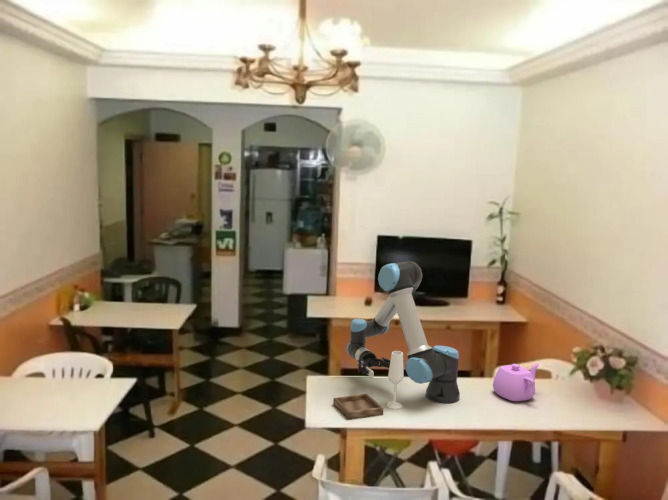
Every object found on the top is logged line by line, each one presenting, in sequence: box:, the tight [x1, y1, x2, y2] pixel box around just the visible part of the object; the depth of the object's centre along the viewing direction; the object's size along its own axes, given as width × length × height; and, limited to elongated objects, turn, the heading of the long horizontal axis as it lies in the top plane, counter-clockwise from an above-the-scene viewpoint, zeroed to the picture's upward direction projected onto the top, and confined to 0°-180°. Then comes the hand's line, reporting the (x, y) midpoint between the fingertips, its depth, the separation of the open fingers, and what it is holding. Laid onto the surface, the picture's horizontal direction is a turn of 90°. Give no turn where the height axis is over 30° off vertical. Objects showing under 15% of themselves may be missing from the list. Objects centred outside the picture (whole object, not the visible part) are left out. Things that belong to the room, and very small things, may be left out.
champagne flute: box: [386, 350, 405, 410], centre depth 265 cm, size 7×7×24 cm
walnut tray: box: [332, 393, 384, 421], centre depth 261 cm, size 16×16×3 cm
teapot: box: [492, 363, 540, 402], centre depth 281 cm, size 23×21×15 cm
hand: (386, 373), depth 271 cm, fingers open, 13 cm apart
